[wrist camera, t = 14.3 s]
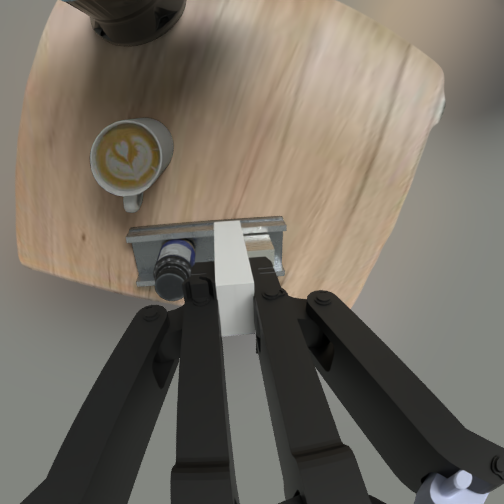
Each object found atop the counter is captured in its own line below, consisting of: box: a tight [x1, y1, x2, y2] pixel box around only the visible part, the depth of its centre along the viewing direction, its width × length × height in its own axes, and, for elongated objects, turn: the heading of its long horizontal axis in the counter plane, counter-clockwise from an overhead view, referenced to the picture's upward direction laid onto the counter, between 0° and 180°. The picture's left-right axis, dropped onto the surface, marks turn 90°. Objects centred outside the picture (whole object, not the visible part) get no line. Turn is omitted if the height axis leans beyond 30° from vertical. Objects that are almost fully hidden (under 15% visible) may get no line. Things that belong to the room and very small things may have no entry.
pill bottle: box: [153, 238, 196, 301], centre depth 43 cm, size 6×6×11 cm
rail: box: [126, 216, 286, 286], centre depth 46 cm, size 10×26×10 cm, turn 91°
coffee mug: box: [90, 118, 174, 213], centre depth 37 cm, size 13×10×10 cm
